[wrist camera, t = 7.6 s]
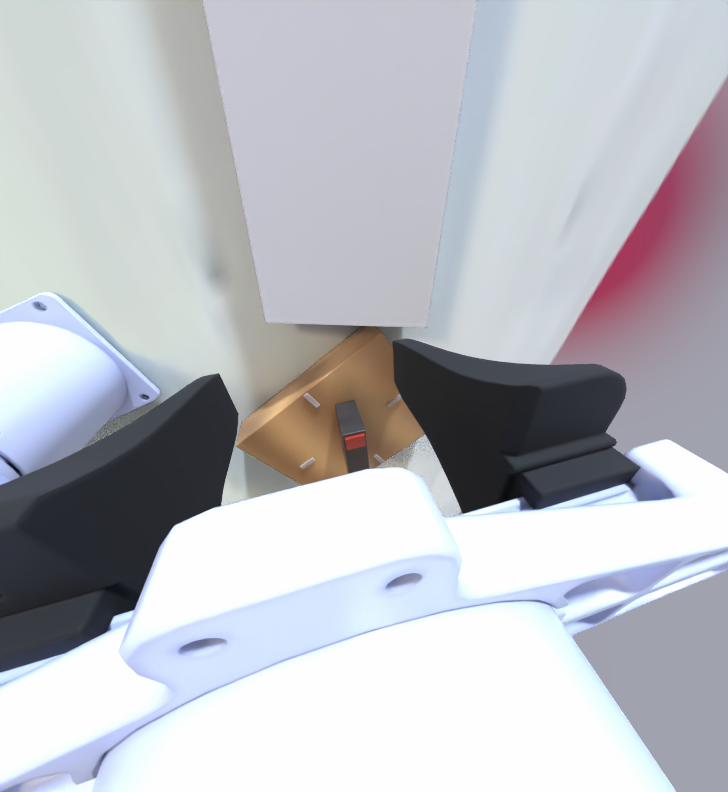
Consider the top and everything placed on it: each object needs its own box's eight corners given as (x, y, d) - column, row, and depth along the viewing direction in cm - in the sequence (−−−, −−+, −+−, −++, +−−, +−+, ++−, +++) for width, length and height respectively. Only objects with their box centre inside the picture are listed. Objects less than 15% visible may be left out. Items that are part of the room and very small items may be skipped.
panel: (324, 476, 29) (327, 501, 26) (241, 422, 22) (234, 447, 20) (431, 402, 26) (446, 422, 24) (370, 318, 20) (382, 332, 17)
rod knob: (362, 457, 24) (372, 492, 21) (344, 461, 24) (353, 497, 20) (354, 399, 20) (366, 432, 17) (334, 404, 20) (342, 438, 17)
